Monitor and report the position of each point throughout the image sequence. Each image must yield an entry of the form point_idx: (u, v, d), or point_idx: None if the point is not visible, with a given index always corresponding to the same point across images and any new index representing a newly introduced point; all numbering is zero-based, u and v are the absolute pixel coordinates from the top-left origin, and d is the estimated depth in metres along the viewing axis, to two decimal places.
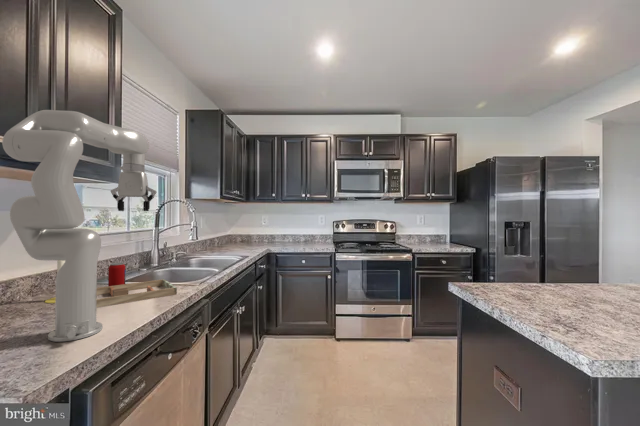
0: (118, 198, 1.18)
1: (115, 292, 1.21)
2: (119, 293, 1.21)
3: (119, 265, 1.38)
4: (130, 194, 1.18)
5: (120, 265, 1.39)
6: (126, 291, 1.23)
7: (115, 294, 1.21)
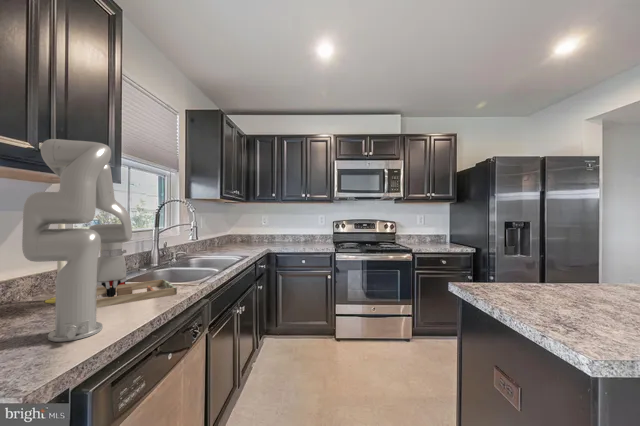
0: None
1: (119, 291, 1.22)
2: (123, 292, 1.22)
3: None
4: None
5: None
6: (130, 290, 1.24)
7: (119, 293, 1.21)
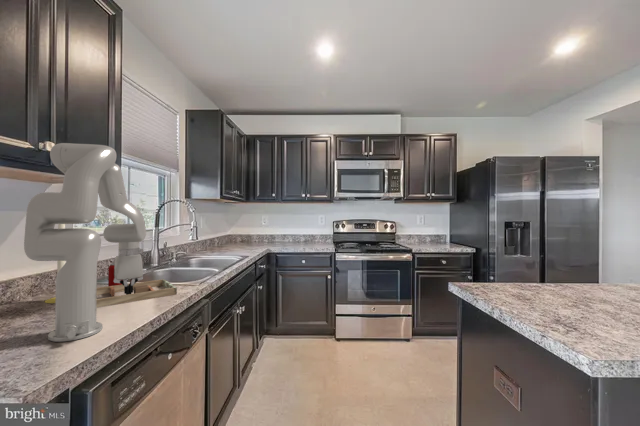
0: None
1: (137, 289, 1.26)
2: (140, 290, 1.27)
3: None
4: None
5: None
6: (147, 288, 1.28)
7: (137, 291, 1.26)
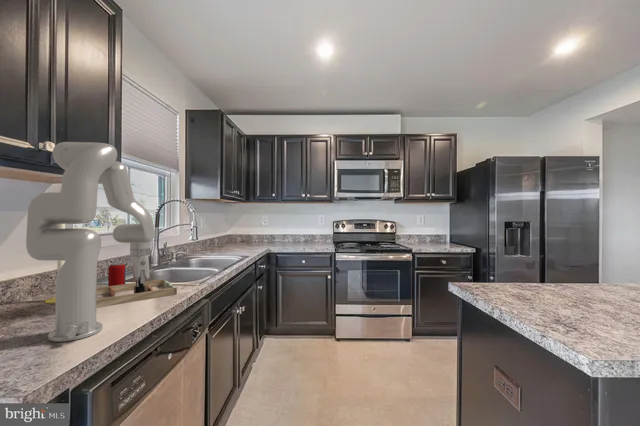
0: None
1: None
2: None
3: (119, 265, 1.38)
4: None
5: (120, 265, 1.39)
6: (147, 288, 1.29)
7: None
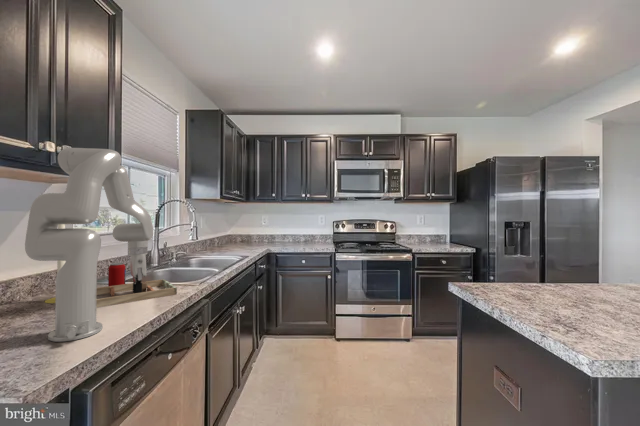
0: (141, 280, 1.29)
1: None
2: None
3: (119, 265, 1.38)
4: None
5: (120, 265, 1.39)
6: (144, 285, 1.33)
7: None
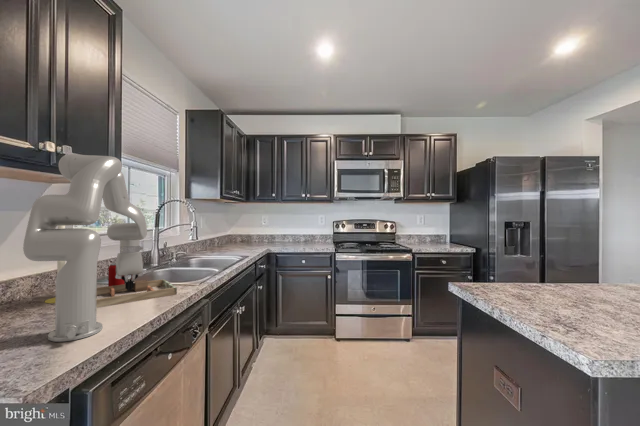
0: None
1: (136, 284, 1.34)
2: (140, 285, 1.35)
3: None
4: None
5: None
6: (146, 283, 1.36)
7: (136, 286, 1.34)
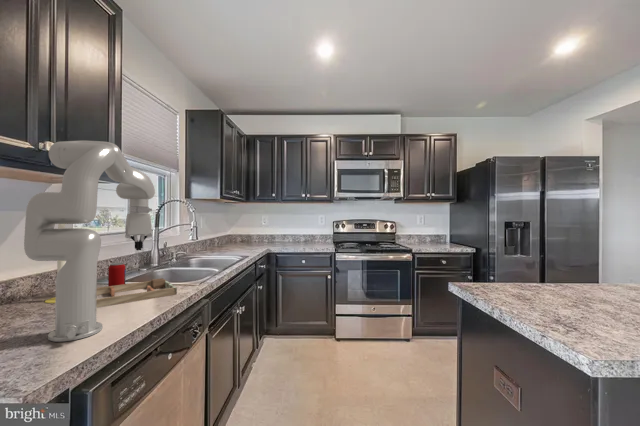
0: None
1: (154, 282, 1.39)
2: (158, 283, 1.40)
3: (119, 265, 1.38)
4: None
5: (120, 265, 1.39)
6: (163, 281, 1.41)
7: (154, 283, 1.39)
